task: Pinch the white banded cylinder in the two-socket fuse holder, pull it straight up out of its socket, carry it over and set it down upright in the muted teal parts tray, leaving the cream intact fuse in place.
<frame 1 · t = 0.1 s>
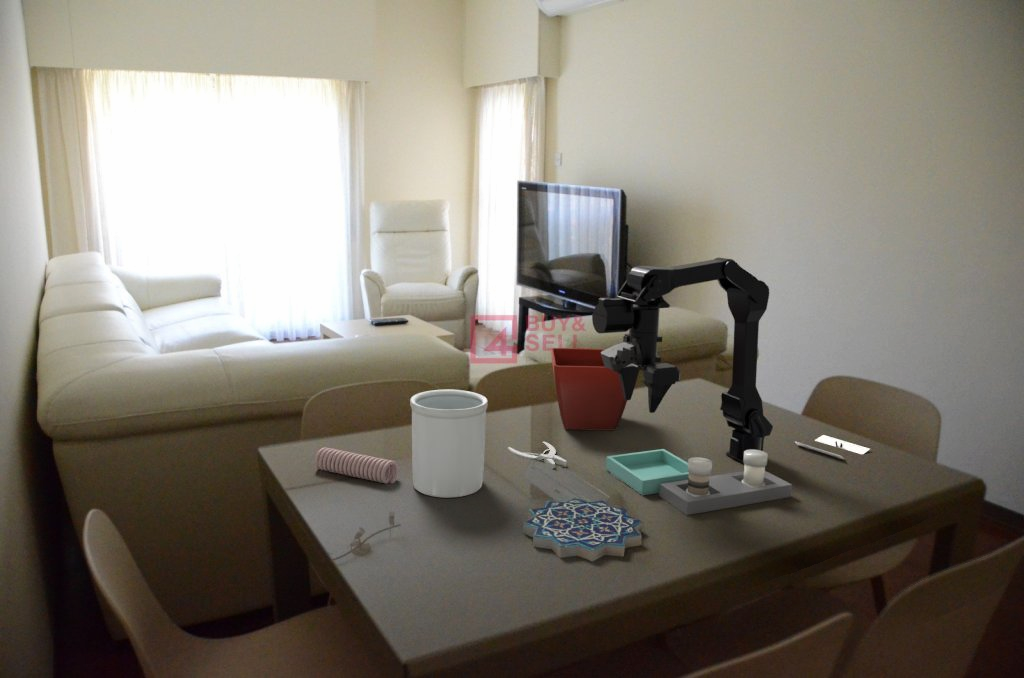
hand: (639, 406, 156), 15 cm above the table, fingers open, 9 cm apart
white banded cylinder: (697, 501, 146), resting in fuse holder
intact fuse: (752, 492, 151), resting in fuse holder
plant pot: (588, 423, 193), on the table
utensil holder: (448, 485, 152), on the table
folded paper: (830, 451, 177), on the table
coil: (356, 477, 156), on the table
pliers: (542, 458, 168), on the table
fuse holder: (725, 496, 149), on the table
decorative tile: (582, 535, 133), on the table
parts tray: (652, 477, 157), on the table
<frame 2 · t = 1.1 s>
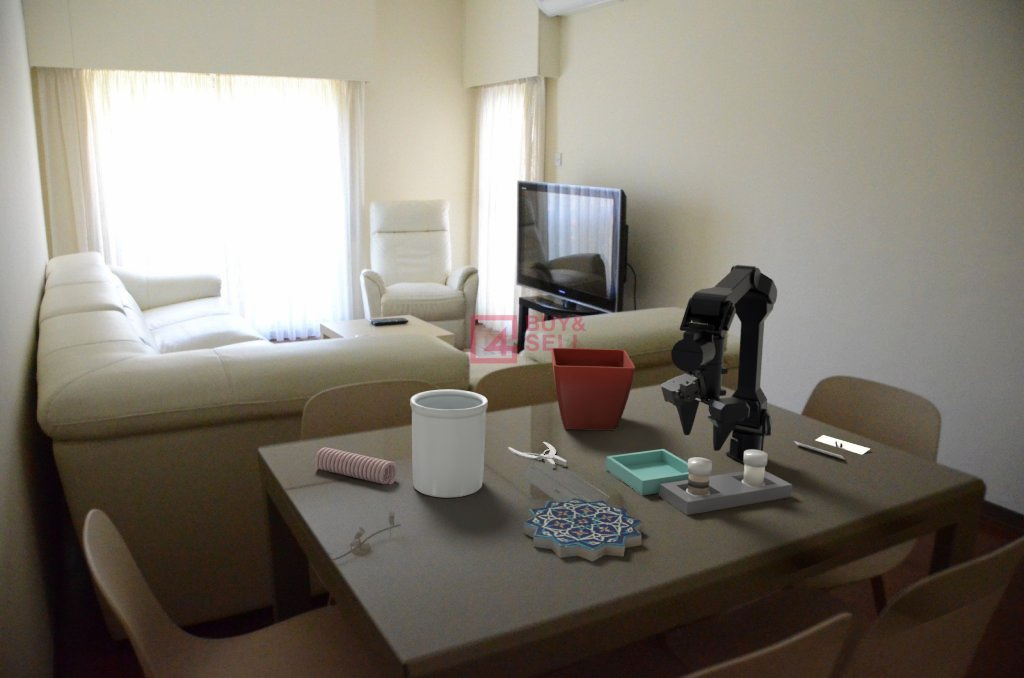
hand: (701, 442, 144), 12 cm above the table, fingers open, 9 cm apart
nothing on the table moved.
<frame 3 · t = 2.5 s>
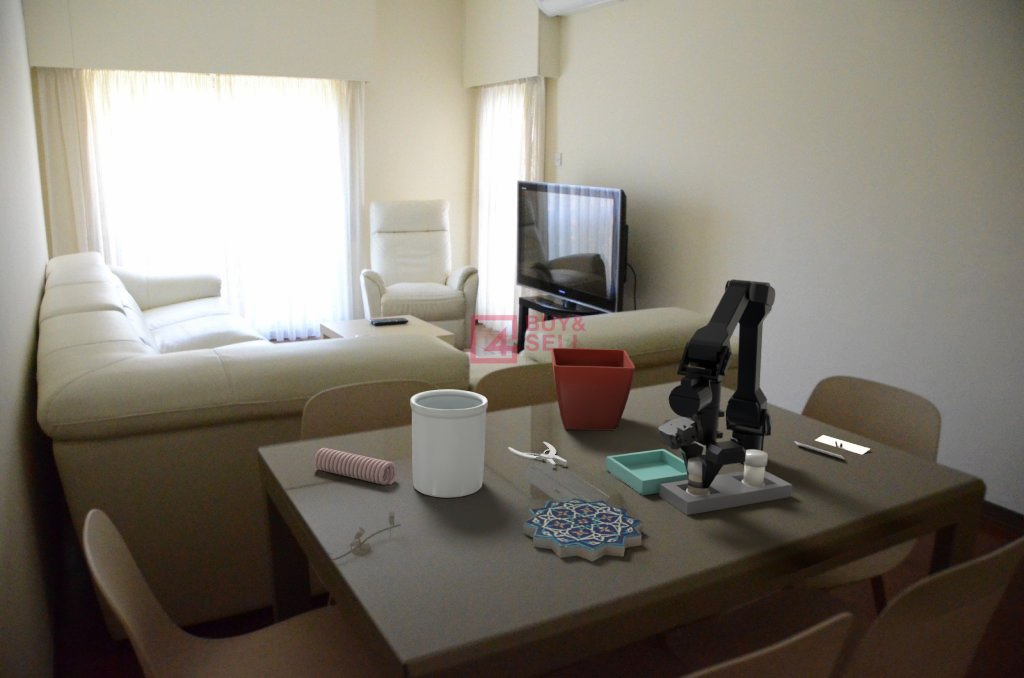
hand: (698, 483, 145), 4 cm above the table, fingers closed on white banded cylinder, 4 cm apart
white banded cylinder: (697, 501, 146), resting in fuse holder, touching gripper
everything else where it was.
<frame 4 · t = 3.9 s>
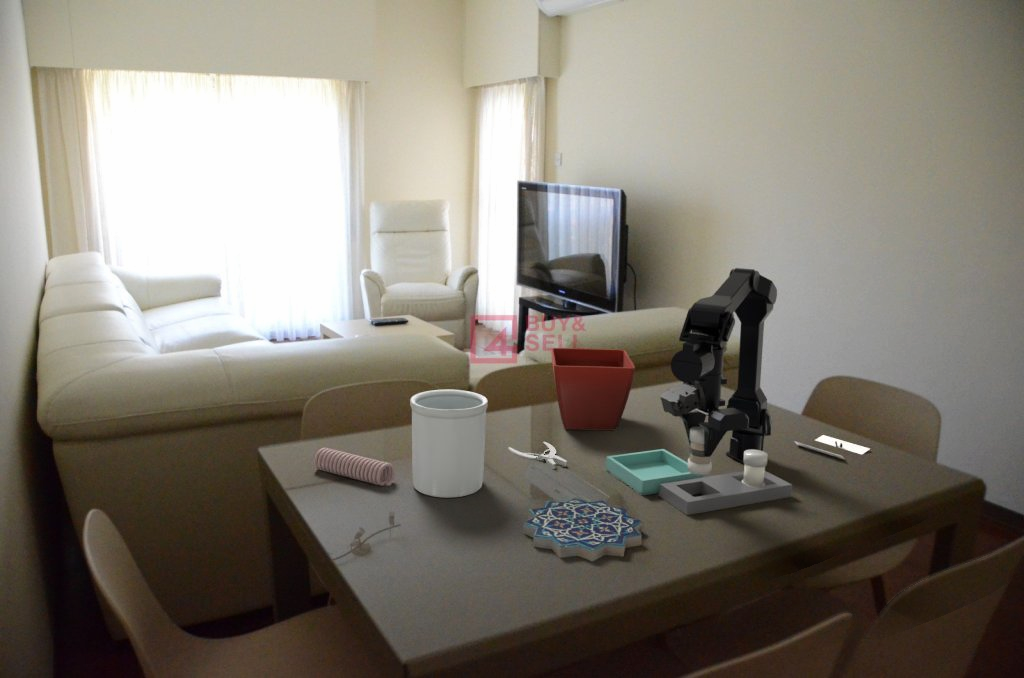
hand: (700, 452, 144), 10 cm above the table, fingers closed on white banded cylinder, 4 cm apart
white banded cylinder: (699, 470, 145), point 6 cm above the table, touching gripper
everything else where it was.
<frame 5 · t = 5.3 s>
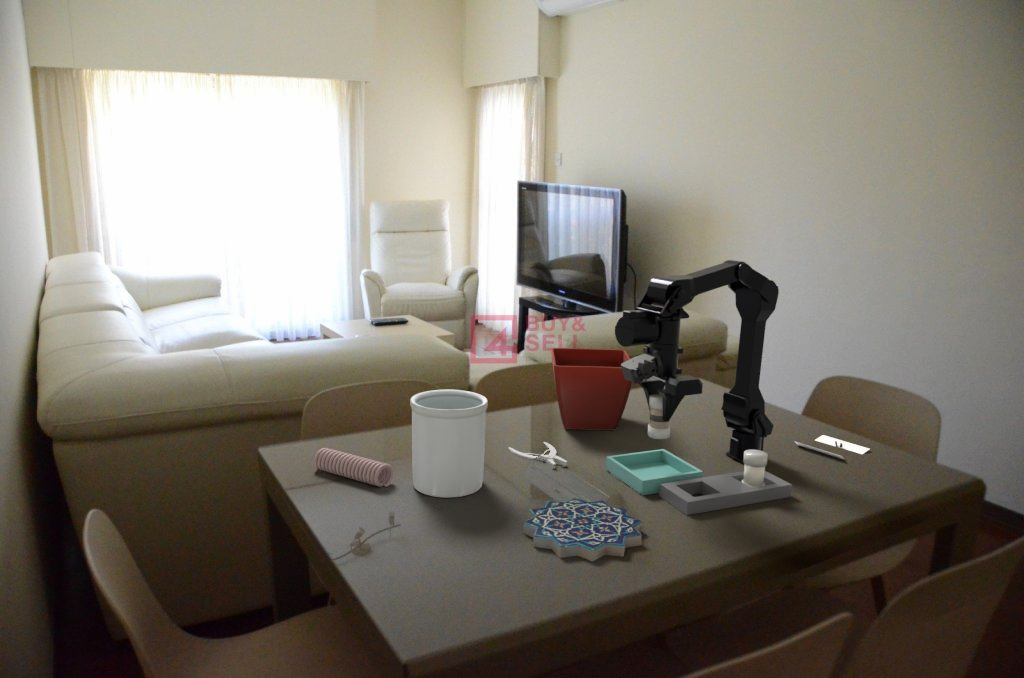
hand: (659, 418, 154), 13 cm above the table, fingers closed on white banded cylinder, 4 cm apart
white banded cylinder: (658, 435, 154), point 9 cm above the table, touching gripper
when the fingers open (6 cm above the table, at t = 7.1 s): white banded cylinder drops 1 cm, resting on parts tray.
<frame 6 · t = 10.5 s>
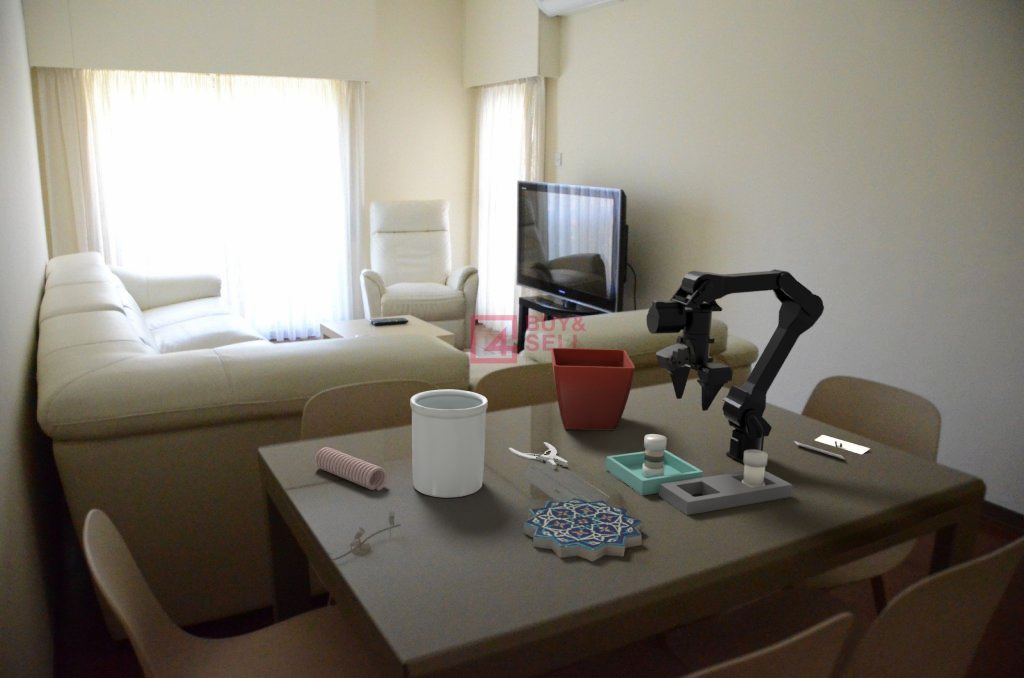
hand: (691, 404, 164), 13 cm above the table, fingers open, 9 cm apart
white banded cylinder: (653, 475, 157), point 1 cm above the table, touching parts tray
at the end: white banded cylinder inside the target area on the parts tray (0.0 cm from its centre), point 0.6 cm above the parts tray's base; the gripper is holding nothing; intact fuse moved 0.0 cm from its start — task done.
